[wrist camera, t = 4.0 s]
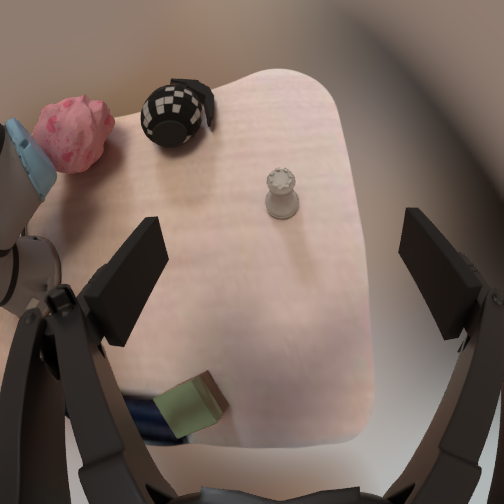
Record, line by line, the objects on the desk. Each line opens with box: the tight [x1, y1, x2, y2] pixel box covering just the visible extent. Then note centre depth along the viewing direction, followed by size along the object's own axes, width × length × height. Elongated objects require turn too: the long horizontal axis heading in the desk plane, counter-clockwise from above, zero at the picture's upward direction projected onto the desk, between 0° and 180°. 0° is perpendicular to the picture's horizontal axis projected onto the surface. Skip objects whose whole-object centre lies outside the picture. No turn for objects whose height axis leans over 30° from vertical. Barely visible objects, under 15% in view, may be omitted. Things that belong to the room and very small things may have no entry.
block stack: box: [153, 370, 229, 438], centre depth 31 cm, size 6×6×7 cm
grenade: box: [141, 79, 214, 148], centre depth 41 cm, size 11×10×15 cm
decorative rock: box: [32, 95, 115, 174], centre depth 38 cm, size 19×14×15 cm
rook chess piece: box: [265, 167, 299, 219], centre depth 35 cm, size 4×4×8 cm
